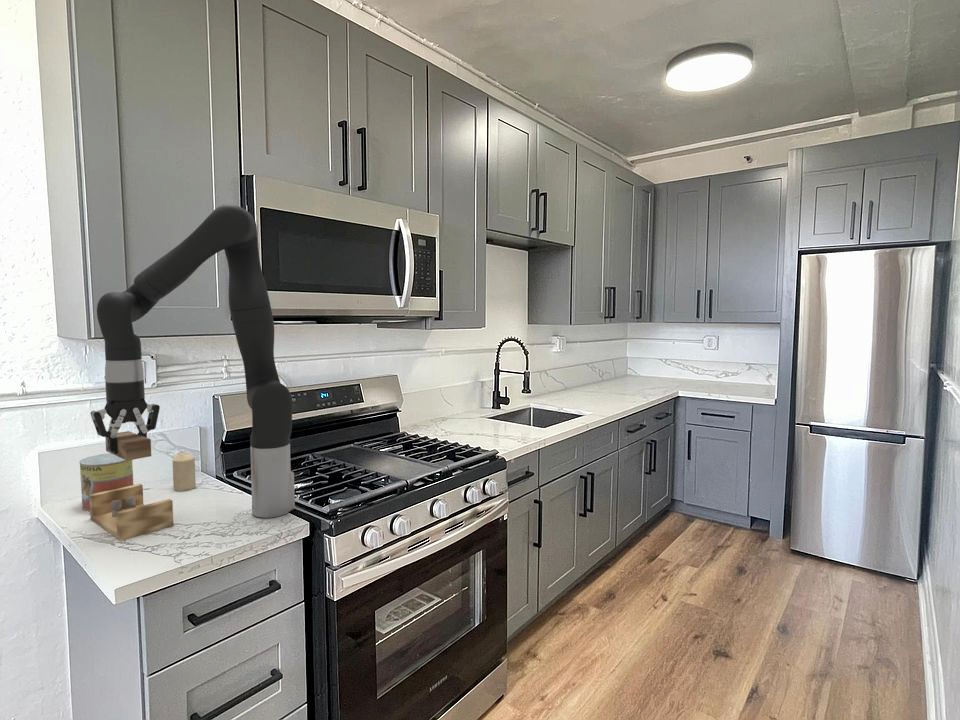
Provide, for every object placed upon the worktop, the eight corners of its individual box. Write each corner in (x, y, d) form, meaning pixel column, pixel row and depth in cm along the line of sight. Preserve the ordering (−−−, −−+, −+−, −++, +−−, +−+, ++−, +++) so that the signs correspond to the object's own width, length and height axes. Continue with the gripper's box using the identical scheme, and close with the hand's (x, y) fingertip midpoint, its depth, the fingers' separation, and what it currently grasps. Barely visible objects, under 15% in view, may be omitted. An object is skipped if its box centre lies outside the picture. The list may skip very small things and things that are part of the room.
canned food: (73, 506, 139) (70, 460, 138) (120, 493, 149) (118, 450, 148) (95, 515, 133) (92, 467, 132) (143, 501, 143) (141, 456, 142)
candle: (189, 491, 151) (188, 456, 150) (169, 491, 151) (168, 456, 150) (199, 485, 157) (198, 451, 156) (180, 484, 157) (178, 450, 156)
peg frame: (141, 506, 139) (140, 483, 139) (173, 525, 128) (172, 500, 127) (90, 519, 131) (89, 494, 130) (120, 540, 119) (118, 513, 118)
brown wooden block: (151, 456, 126) (150, 439, 125) (127, 460, 122) (126, 443, 121) (129, 447, 134) (128, 431, 133) (106, 451, 130) (105, 434, 129)
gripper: (94, 383, 118) (98, 460, 120) (164, 377, 129) (167, 447, 131) (82, 380, 123) (86, 454, 124) (151, 375, 134) (154, 442, 135)
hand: (128, 450), depth 128 cm, fingers closed on brown wooden block, 5 cm apart
